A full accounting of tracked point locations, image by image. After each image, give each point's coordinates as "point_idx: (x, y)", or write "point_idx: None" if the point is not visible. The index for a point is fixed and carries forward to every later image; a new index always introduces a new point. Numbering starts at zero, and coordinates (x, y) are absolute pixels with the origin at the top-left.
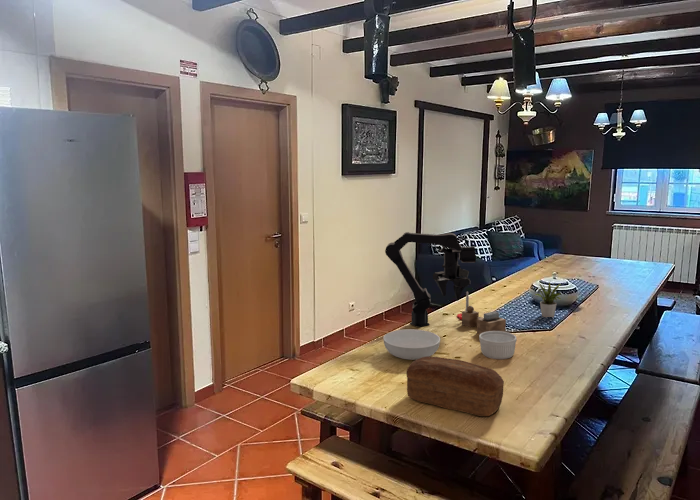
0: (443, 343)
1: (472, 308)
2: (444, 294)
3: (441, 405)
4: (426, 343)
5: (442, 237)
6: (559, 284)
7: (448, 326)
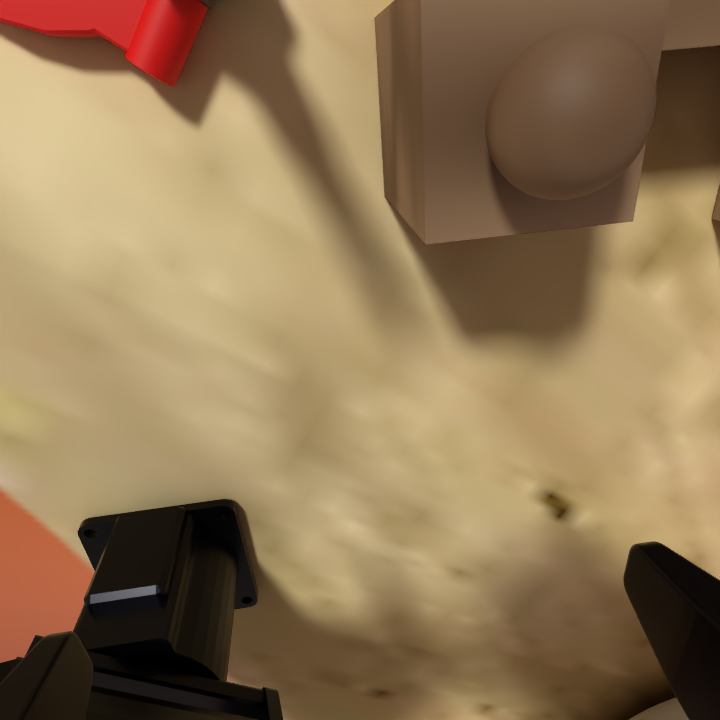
0: None
1: (655, 109)
2: (67, 696)
3: None
4: None
5: None
6: None
7: (356, 363)
